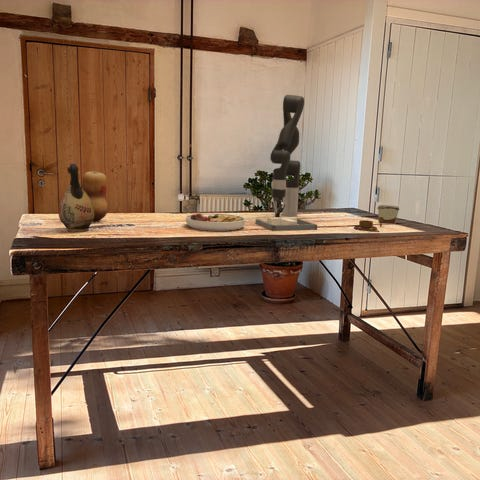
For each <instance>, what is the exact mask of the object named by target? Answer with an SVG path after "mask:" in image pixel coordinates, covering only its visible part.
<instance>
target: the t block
mask: <svg viewBox="0 0 480 480" xmlns="http://www.w3.org/2000/svg"><path fill="white" fill-rule="evenodd" d="M267 223H270V224H272V225H298V224H297V217H296V216H280V217H275V216H274V217H267Z"/></svg>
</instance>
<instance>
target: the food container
mask: <svg viewBox="0 0 480 480" xmlns="http://www.w3.org/2000/svg"><path fill="white" fill-rule="evenodd" d="M399 207H400V206H397V205H386V204H380V205H378V206H377V211H378V212H377V213H378V220H379V217H384V221H383V222H382V225H383V224H387V225H396V223H397V219H398V218H397V217H398V213H399V211H400V208H399ZM380 223H381V222H379V221H378V224H380Z"/></svg>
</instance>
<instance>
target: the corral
mask: <svg viewBox="0 0 480 480" xmlns="http://www.w3.org/2000/svg"><path fill="white" fill-rule="evenodd" d="M296 218H297V217H296ZM255 225H258V226H259V227H263V228H265V229H267V230H270V231H272V232H273V231H275V232H276V231H278V232H279V231H311V230H312V231H314V230H315V231H316V230H318V224H316V223H314V222H311V221H307V220H303V219H301V218H297V225H272V224H270V223H268V221H264V220H262V219H259V218H256V219H255Z"/></svg>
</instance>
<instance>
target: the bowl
mask: <svg viewBox="0 0 480 480" xmlns="http://www.w3.org/2000/svg"><path fill="white" fill-rule="evenodd" d="M246 220H247V219H246V218H245V217H243V216H240V215H235V214H225V213H201V212H198V213H193V214H189V215H187V216H185V223H186V225H187V226H189V227H190V228H192V229H194V230H198V229H199V231H206V230H208V231H207V232H229V230H232V231H236V230H237V229H238V230H239V229H242V228H243V227H244V226H245V224H246V222H247V221H246ZM238 230H237V231H238Z"/></svg>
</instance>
